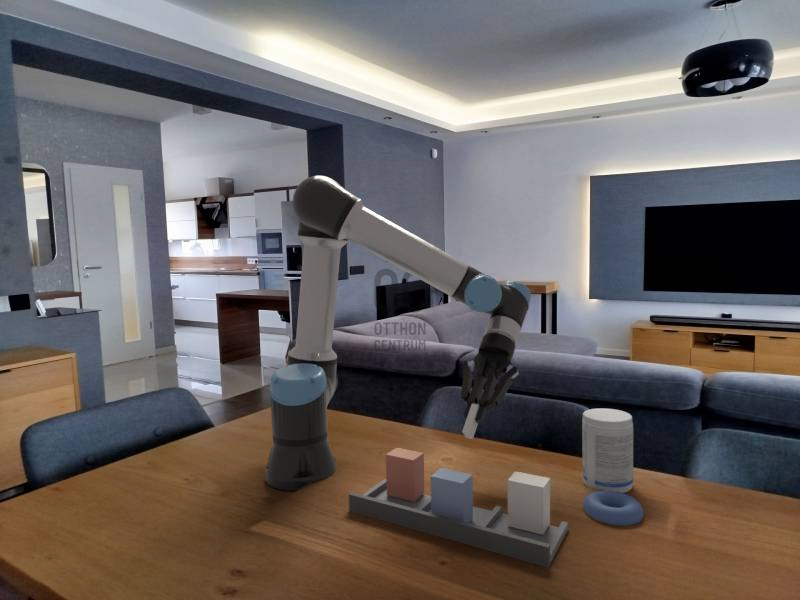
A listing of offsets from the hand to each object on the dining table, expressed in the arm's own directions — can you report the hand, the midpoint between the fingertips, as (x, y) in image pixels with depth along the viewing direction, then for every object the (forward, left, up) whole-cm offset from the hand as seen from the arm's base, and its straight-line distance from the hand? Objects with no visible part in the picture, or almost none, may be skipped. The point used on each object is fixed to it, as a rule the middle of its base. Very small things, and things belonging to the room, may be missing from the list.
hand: (467, 435), depth 108 cm
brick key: (-8, -12, -9) cm, 17 cm away
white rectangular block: (+16, -12, -9) cm, 22 cm away
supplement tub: (+24, +14, -11) cm, 30 cm away
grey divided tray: (+4, -16, -11) cm, 20 cm away
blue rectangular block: (+4, -17, -9) cm, 20 cm away
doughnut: (+28, 0, -11) cm, 30 cm away
